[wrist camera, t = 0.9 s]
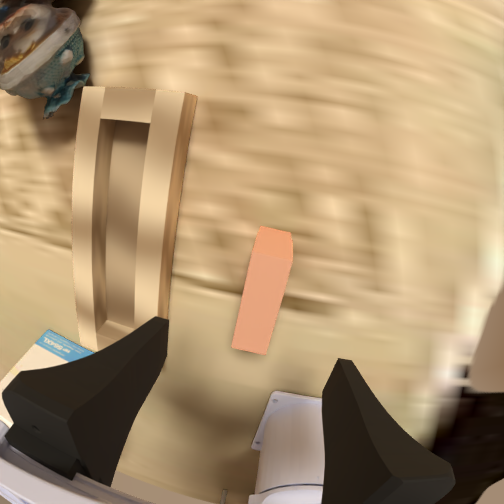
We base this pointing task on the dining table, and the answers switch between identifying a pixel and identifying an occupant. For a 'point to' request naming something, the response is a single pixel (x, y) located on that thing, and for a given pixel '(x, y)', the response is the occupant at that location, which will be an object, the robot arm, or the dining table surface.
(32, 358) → the ink box
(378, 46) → the dining table surface
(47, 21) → the figurine
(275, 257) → the tall salmon pink block
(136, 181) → the rail
